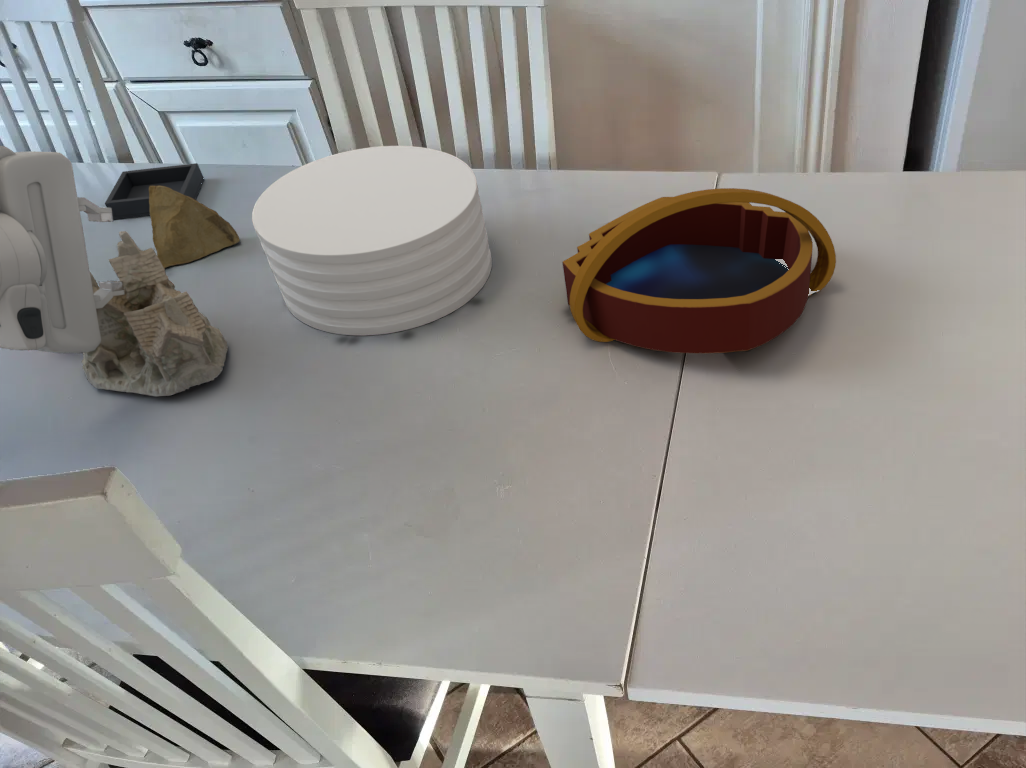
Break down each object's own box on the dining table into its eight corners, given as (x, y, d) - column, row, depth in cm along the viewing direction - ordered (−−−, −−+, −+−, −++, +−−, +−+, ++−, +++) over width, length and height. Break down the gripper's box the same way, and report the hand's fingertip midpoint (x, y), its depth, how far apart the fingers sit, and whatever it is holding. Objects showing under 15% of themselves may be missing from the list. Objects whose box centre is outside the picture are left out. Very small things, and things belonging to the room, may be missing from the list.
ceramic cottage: (87, 351, 105) (22, 243, 94) (225, 318, 109) (177, 211, 99) (85, 426, 95) (12, 315, 84) (236, 387, 99) (185, 276, 89)
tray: (113, 219, 128) (104, 203, 126) (130, 187, 135) (122, 171, 133) (191, 210, 129) (183, 194, 127) (204, 179, 136) (197, 163, 134)
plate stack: (472, 206, 126) (457, 131, 118) (510, 307, 108) (495, 226, 99) (281, 243, 121) (252, 167, 113) (286, 356, 103) (251, 274, 94)
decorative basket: (790, 246, 119) (792, 137, 110) (883, 338, 97) (895, 211, 87) (556, 289, 115) (538, 180, 106) (596, 397, 92) (577, 269, 83)
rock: (247, 212, 123) (177, 206, 123) (222, 186, 115) (147, 179, 114) (238, 283, 122) (167, 277, 121) (213, 262, 113) (137, 255, 113)
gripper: (-60, 142, 78) (75, 150, 91) (-13, 359, 85) (106, 338, 97) (-9, 144, 76) (121, 152, 89) (34, 366, 83) (149, 344, 96)
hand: (114, 251), depth 93 cm, fingers open, 6 cm apart
